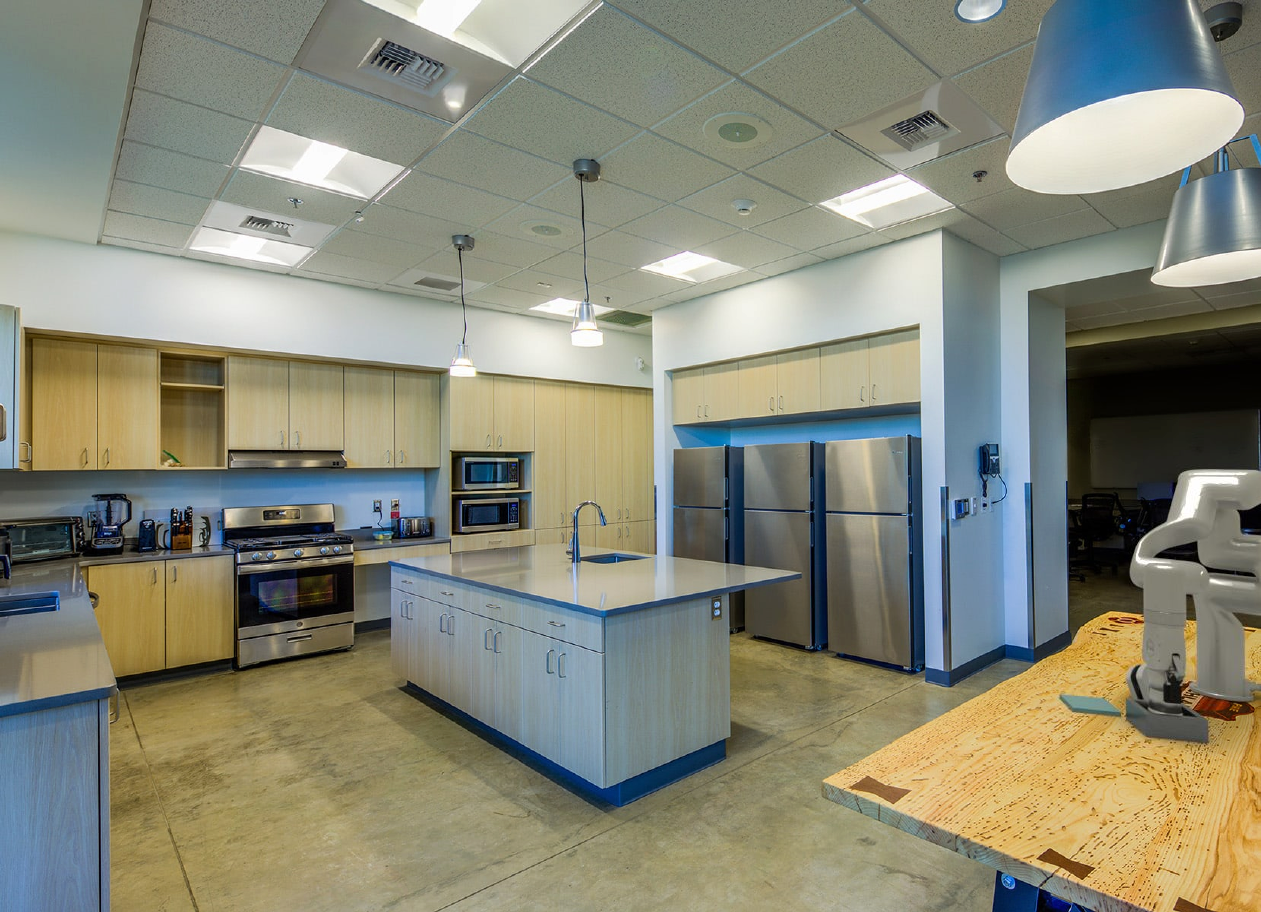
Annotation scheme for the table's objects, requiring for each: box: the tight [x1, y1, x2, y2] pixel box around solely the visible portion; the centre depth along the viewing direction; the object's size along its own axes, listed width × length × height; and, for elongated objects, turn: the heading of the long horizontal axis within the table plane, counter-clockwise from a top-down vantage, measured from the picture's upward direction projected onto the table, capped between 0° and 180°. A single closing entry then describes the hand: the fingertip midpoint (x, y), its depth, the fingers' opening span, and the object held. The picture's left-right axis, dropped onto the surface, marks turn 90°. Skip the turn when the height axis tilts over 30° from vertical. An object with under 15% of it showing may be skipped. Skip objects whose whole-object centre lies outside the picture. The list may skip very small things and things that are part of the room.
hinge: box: [1124, 663, 1150, 700], centre depth 169 cm, size 17×5×10 cm, turn 129°
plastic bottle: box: [1145, 658, 1183, 716], centre depth 149 cm, size 6×7×20 cm
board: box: [1058, 693, 1122, 718], centre depth 163 cm, size 10×10×1 cm
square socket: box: [1125, 697, 1209, 744], centre depth 149 cm, size 11×10×5 cm
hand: (1165, 697), depth 149 cm, fingers closed on plastic bottle, 6 cm apart
